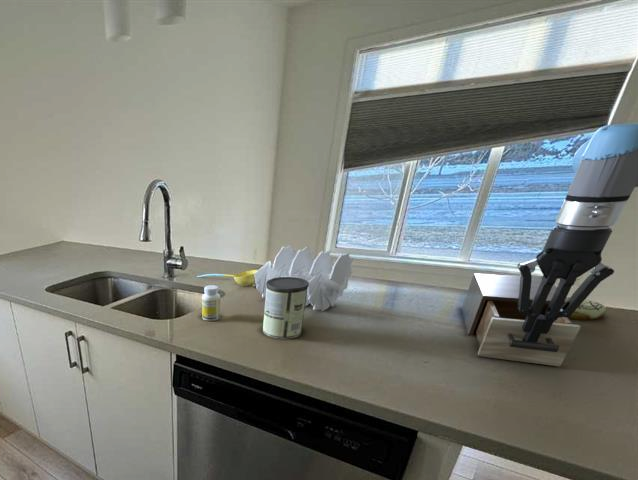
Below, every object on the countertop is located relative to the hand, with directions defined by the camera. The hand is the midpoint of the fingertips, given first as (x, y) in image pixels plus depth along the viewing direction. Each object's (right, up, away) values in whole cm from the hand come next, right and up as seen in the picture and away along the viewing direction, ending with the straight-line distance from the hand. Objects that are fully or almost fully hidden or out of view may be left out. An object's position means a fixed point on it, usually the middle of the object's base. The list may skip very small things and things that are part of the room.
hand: (527, 346), depth 83 cm
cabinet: (+13, +7, +20) cm, 25 cm away
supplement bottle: (-57, +12, +41) cm, 71 cm away
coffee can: (-40, +6, +28) cm, 49 cm away
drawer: (+4, 0, +8) cm, 9 cm away
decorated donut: (+34, +10, +22) cm, 42 cm away
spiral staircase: (-28, +17, +45) cm, 56 cm away
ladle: (-45, +32, +72) cm, 90 cm away
